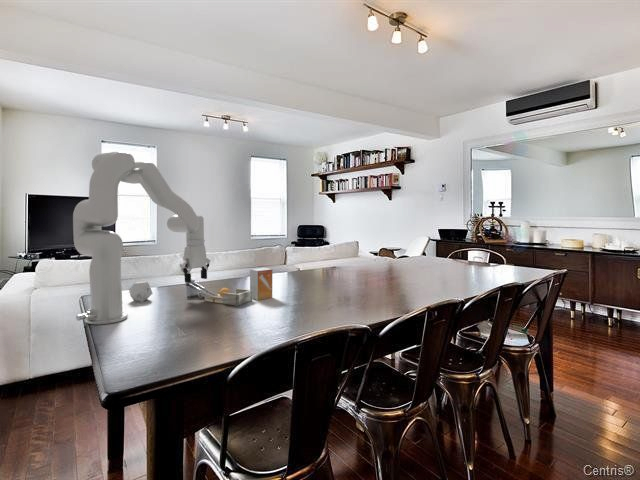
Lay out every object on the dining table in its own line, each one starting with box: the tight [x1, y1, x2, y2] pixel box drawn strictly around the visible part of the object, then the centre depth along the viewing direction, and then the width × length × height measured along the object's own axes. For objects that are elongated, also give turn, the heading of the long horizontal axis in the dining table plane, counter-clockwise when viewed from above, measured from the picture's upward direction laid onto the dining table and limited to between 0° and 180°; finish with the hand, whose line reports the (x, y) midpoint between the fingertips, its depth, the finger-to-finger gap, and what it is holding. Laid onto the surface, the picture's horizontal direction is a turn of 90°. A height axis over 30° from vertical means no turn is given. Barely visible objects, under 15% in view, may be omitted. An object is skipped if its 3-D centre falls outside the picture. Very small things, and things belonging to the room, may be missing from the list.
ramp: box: [184, 279, 217, 299], centre depth 161 cm, size 5×15×7 cm, turn 64°
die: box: [128, 281, 153, 303], centre depth 154 cm, size 8×9×10 cm
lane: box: [204, 288, 253, 307], centre depth 155 cm, size 10×18×4 cm, turn 64°
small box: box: [249, 267, 273, 301], centre depth 160 cm, size 8×6×13 cm
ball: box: [218, 287, 231, 297], centre depth 155 cm, size 4×4×4 cm
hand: (196, 280), depth 163 cm, fingers open, 9 cm apart
